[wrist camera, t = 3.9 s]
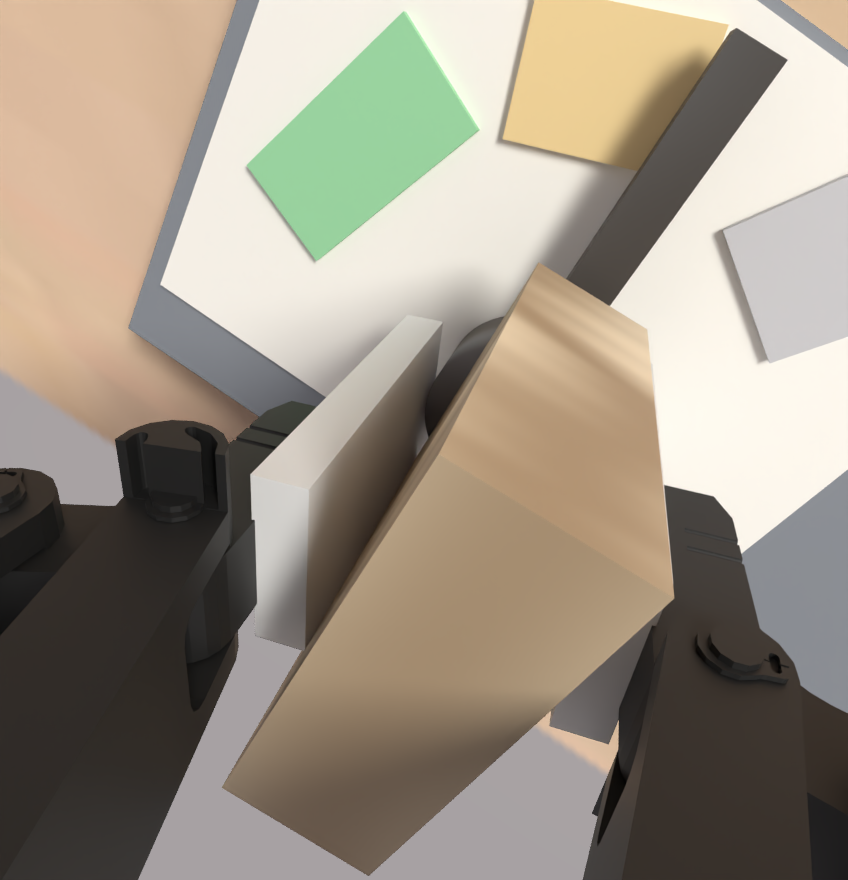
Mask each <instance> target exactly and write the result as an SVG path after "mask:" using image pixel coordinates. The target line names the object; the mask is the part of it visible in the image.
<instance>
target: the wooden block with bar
mask: <svg viewBox="0 0 848 880" xmlns="http://www.w3.org/2000/svg"><path fill="white" fill-rule="evenodd" d="M787 61H788V60H787V59H786V58H784V57H783V56H781V55H779V54H778V53H776V52H775V51H773V50H771V49H770V48H768V47H767V46H765V45H763V44H762V43H760V42H759V41H757V40H756V39H754V38H752V37H751V36H749V35H748V34H746V33H744V32H743V31H741V30H740V29H738V28H735V29H734V30H732V31H730V32H729V34H728V35H727V37H726V38H725V40H724V41H723V43H722V44H721V46H720V47H719V49H718V50H717V52H716V54H715V55H714V57H713V58H712V60H711V61H710V63H709V64H708V66H707V67H706V69H705V70H704V72H703V73H702V75H701V76H700V78H699V79H698V81H697V82H696V84H695V85H694V87H693V88H692V90H691V91H690V93H689V94H688V96H687V97H686V99H685V100H684V102H683V103H682V105H681V106H680V108H679V109H678V111H677V112H676V114H675V115H674V117H673V118H672V120H671V121H670V123H669V124H668V126H667V127H666V129H665V130H664V132H663V133H662V135H661V136H660V138H659V139H658V141H657V142H656V144H655V145H654V147H653V148H652V150H651V152H650V153H649V155H648V156H647V158H646V159H645V161H644V162H643V164H642V165H641V167H640V168H639V170H638V171H637V173H636V174H635V176H634V177H633V179H632V180H631V182H630V183H629V185H628V186H627V188H626V189H625V191H624V192H623V194H622V195H621V197H620V198H619V200H618V201H617V203H616V204H615V206H614V207H613V209H612V210H611V212H610V213H609V215H608V216H607V218H606V219H605V221H604V222H603V224H602V225H601V227H600V228H599V230H598V231H597V233H596V234H595V236H594V237H593V239H592V240H591V242H590V243H589V245H588V247H587V248H586V250H585V251H584V253H583V254H582V256H581V257H580V259H579V260H578V262H577V263H576V265H575V266H574V268H573V269H572V271H571V272H570V274H569V275H568V277H567V278H566V279H565V278H563V277H562V276H560V275H558V274H557V273H555V272H554V271H552V270H550V269H549V268H547V267H546V266H544V265H542V264H541V263H539V262H538V264H537V266H536V267H535V269H534V270H533V272H532V274H531V275H530V277H529V278H528V280H527V282H526V283H525V285H524V286H523V288H522V290H521V291H520V293H519V294H518V296H517V298H516V299H515V301H514V302H513V304H512V305H511V307H510V309H509V310H508V312H507V313H506V315H505V316H504V317H499V318H495V319H492V320H489V321H487V322H485V323H482V324H481V325H479V326H478V327H476V328H474V329H473V330H472V331H471V332H469V333H468V334H467V335H466V336H465V337H464V338H463V339H462V341H461V342H460V343H459V345H458V346H457V348H456V349H455V351H454V352H453V354H452V355H451V357H450V358H449V360H448V361H447V362H446V364H445V365H444V367H443V368H442V370H441V371H440V373H439V374H438V376H437V377H436V379H435V380H434V382H433V384H432V386H431V388H430V390H429V393H428V396H427V399H426V405H425V426H426V430H427V434H428V437H429V438H428V439H427V441H426V443H425V444H424V446H423V447H422V449H421V451H420V452H419V454H418V455H417V457H416V459H415V460H414V462H413V464H412V466H411V467H410V469H409V471H408V472H407V474H406V476H405V478H404V479H403V481H402V483H401V485H400V486H399V488H398V490H397V491H396V493H395V495H394V497H393V498H392V500H391V502H390V504H389V505H388V507H387V509H386V510H385V512H384V514H383V516H382V517H381V519H380V521H379V523H378V524H377V526H376V528H375V529H374V531H373V533H372V535H371V536H370V538H369V540H368V542H367V543H366V545H365V547H364V549H363V550H362V552H361V554H360V555H359V557H358V559H357V561H356V562H355V564H354V566H353V568H352V569H351V571H350V573H349V574H348V576H347V578H346V580H345V581H344V583H343V585H342V587H341V588H340V590H339V592H338V593H337V595H336V597H335V599H334V600H333V602H332V604H331V606H330V607H329V609H328V611H327V612H326V614H325V616H324V618H323V619H322V621H321V623H320V625H319V626H318V628H317V630H316V631H315V633H314V635H313V637H312V638H311V640H310V642H309V644H308V645H307V647H306V649H305V650H304V651H303V650H302V651H301V653H300V654H299V656H298V658H297V660H296V661H295V663H294V665H293V666H292V668H291V670H290V672H289V673H288V675H287V677H286V678H285V680H284V682H283V683H282V685H281V687H280V689H279V691H278V692H277V694H276V695H275V697H274V699H273V701H272V702H271V704H270V706H269V707H268V709H267V711H266V713H265V714H264V716H263V718H262V719H261V721H260V723H259V725H258V727H257V728H256V730H255V731H254V733H253V735H252V737H251V738H250V740H249V742H248V743H247V745H246V747H245V749H244V750H243V752H242V754H241V755H240V757H239V759H238V761H237V762H236V764H235V766H234V768H233V769H232V771H231V773H230V774H229V776H228V778H227V780H226V781H225V783H224V785H223V786H222V788H223V789H225V790H227V791H228V792H230V793H232V794H233V795H235V796H237V797H238V798H240V799H242V800H243V801H245V802H247V803H248V804H250V805H251V806H253V807H255V808H256V809H258V810H260V811H261V812H263V813H265V814H267V815H268V816H270V817H271V818H273V819H275V820H276V821H278V822H280V823H282V824H283V825H285V826H286V827H288V828H290V829H291V830H293V831H295V832H297V833H298V834H300V835H301V836H303V837H305V838H306V839H308V840H310V841H311V842H313V843H315V844H316V845H318V846H320V847H321V848H323V849H324V850H326V851H328V852H329V853H331V854H333V855H335V856H336V857H338V858H340V859H341V860H343V861H344V862H346V863H348V864H350V865H351V866H353V867H355V868H356V869H358V870H359V871H361V872H363V873H364V874H366V875H368V876H369V875H370V874H371V873H372V872H373V871H375V870H376V869H377V868H378V867H379V866H380V865H381V864H382V863H383V862H384V861H386V859H388V858H389V857H390V856H391V855H392V854H393V853H394V852H395V851H397V850H398V849H399V848H400V847H401V846H402V845H403V844H404V843H405V842H406V841H408V840H409V839H410V838H411V837H412V836H413V835H414V834H415V833H416V832H418V831H419V830H420V829H421V828H422V827H423V826H424V825H425V824H426V823H427V822H429V821H430V820H431V819H432V818H433V817H434V816H435V815H436V814H437V813H438V812H440V811H441V810H442V809H443V808H444V807H445V806H446V805H447V804H448V803H449V802H451V801H452V799H454V798H455V797H456V796H457V795H458V794H459V793H460V792H462V791H463V790H464V789H465V788H466V787H467V786H468V785H469V784H470V783H471V782H473V781H474V780H475V779H476V778H477V777H478V776H479V775H480V774H481V773H483V772H484V771H485V770H486V769H487V768H488V767H489V766H490V765H491V764H492V763H493V762H495V761H496V760H497V759H498V758H499V757H500V756H501V755H502V754H503V753H505V752H506V751H507V750H508V749H509V748H510V747H511V746H512V745H513V744H514V743H516V742H517V741H518V740H519V739H520V738H521V737H522V736H523V735H524V734H525V733H527V732H528V731H529V730H530V729H531V728H532V727H533V726H534V725H535V724H537V723H538V722H539V721H540V720H541V719H542V718H543V717H544V716H545V715H546V714H548V713H549V712H550V711H551V710H552V709H553V708H554V707H555V706H556V705H557V704H559V703H560V702H561V701H562V700H563V699H564V698H565V697H566V696H567V695H568V694H570V693H571V692H572V691H573V690H574V689H575V688H576V687H577V686H578V685H579V684H581V683H582V682H583V681H584V680H585V679H586V678H587V677H588V676H589V675H590V674H592V673H593V672H594V671H595V670H596V669H597V668H598V667H599V666H600V665H602V664H603V663H604V662H605V661H606V660H607V659H608V658H609V657H610V656H611V655H613V654H614V653H615V652H616V651H617V650H618V649H619V648H620V647H621V646H622V645H624V644H625V643H626V642H627V641H628V640H629V639H630V638H631V637H632V636H633V635H635V634H636V633H637V632H638V631H639V630H640V629H641V628H642V627H643V626H644V625H646V624H647V623H648V622H649V621H650V620H651V619H652V618H653V617H654V616H655V615H657V614H658V613H659V612H660V611H661V610H662V609H663V608H664V607H665V606H666V605H668V604H669V603H670V602H671V601H672V600H673V599H674V590H673V580H672V570H671V560H670V550H669V540H668V530H667V520H666V510H665V500H664V491H663V481H662V471H661V461H660V451H659V441H658V431H657V421H656V411H655V401H654V391H653V381H652V371H651V362H650V352H649V342H648V332H647V329H646V328H644V327H643V326H641V325H639V324H638V323H636V322H634V321H633V320H631V319H630V318H628V317H626V316H625V315H623V314H622V313H620V312H618V311H617V310H615V309H613V308H612V307H610V305H611V304H612V303H613V301H614V300H615V298H616V297H617V296H618V294H619V293H620V291H621V290H622V289H623V287H624V286H625V285H626V283H627V282H628V280H629V279H630V278H631V276H632V275H633V273H634V272H635V271H636V269H637V268H638V267H639V265H640V264H641V262H642V261H643V260H644V258H645V257H646V256H647V254H648V253H649V251H650V250H651V249H652V247H653V246H654V244H655V243H656V242H657V240H658V239H659V238H660V236H661V235H662V233H663V232H664V231H665V229H666V228H667V227H668V225H669V224H670V222H671V221H672V220H673V218H674V217H675V215H676V214H677V213H678V211H679V210H680V209H681V207H682V206H683V204H684V203H685V202H686V200H687V199H688V197H689V196H690V195H691V193H692V192H693V191H694V189H695V188H696V186H697V185H698V184H699V182H700V181H701V180H702V178H703V177H704V175H705V174H706V173H707V171H708V170H709V168H710V167H711V166H712V164H713V163H714V162H715V160H716V159H717V157H718V156H719V155H720V153H721V152H722V151H723V149H724V148H725V146H726V145H727V144H728V142H729V141H730V139H731V138H732V137H733V135H734V134H735V133H736V131H737V130H738V128H739V127H740V126H741V124H742V123H743V122H744V120H745V119H746V117H747V116H748V115H749V113H750V112H751V110H752V109H753V108H754V106H755V105H756V104H757V102H758V101H759V99H760V98H761V97H762V95H763V94H764V92H765V91H766V90H767V88H768V87H769V86H770V84H771V83H772V81H773V80H774V79H775V77H776V76H777V75H778V73H779V72H780V70H781V69H782V68H783V66H784V65H785V63H786V62H787Z"/></svg>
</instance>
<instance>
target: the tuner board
mask: <svg viewBox="0 0 848 880" xmlns="http://www.w3.org/2000/svg"><path fill="white" fill-rule="evenodd" d="M735 28H738V29H740V30H741V31H743V32H744V33H746V34H748V35H749V36H751V37H752V38H754V39H756V40H757V41H759V42H760V43H762V44H763V45H765V46H767V47H768V48H770V49H771V50H773V51H775V52H776V53H778V54H779V55H781V56H783V57H784V58H786V59H787V60H788V61H787V62H786V63H785V65H784V66H783V68H782V69H781V70H780V72H779V73H778V75H777V76H776V77H775V79H774V80H773V81H772V83H771V84H770V86H769V87H768V88H767V90H766V91H765V92H764V94H763V95H762V97H761V98H760V99H759V101H758V102H757V104H756V105H755V106H754V108H753V109H752V110H751V112H750V113H749V115H748V116H747V117H746V119H745V120H744V122H743V123H742V124H741V126H740V127H739V128H738V130H737V131H736V133H735V134H734V135H733V137H732V138H731V139H730V141H729V142H728V144H727V145H726V146H725V148H724V149H723V151H722V152H721V153H720V155H719V156H718V157H717V159H716V160H715V162H714V163H713V164H712V166H711V167H710V168H709V170H708V171H707V173H706V174H705V175H704V177H703V178H702V180H701V181H700V182H699V184H698V185H697V186H696V188H695V189H694V191H693V192H692V193H691V195H690V196H689V197H688V199H687V200H686V202H685V203H684V204H683V206H682V207H681V209H680V210H679V211H678V213H677V214H676V215H675V217H674V218H673V220H672V221H671V222H670V224H669V225H668V227H667V228H666V229H665V231H664V232H663V233H662V235H661V236H660V238H659V239H658V240H657V242H656V243H655V244H654V246H653V247H652V249H651V250H650V251H649V253H648V254H647V256H646V257H645V258H644V260H643V261H642V262H641V264H640V265H639V267H638V268H637V269H636V271H635V272H634V273H633V275H632V276H631V278H630V279H629V280H628V282H627V283H626V285H625V286H624V287H623V289H622V290H621V291H620V293H619V294H618V296H617V297H616V298H615V300H614V301H613V303H612V304H611V305H610V307H612V308H613V309H615V310H617V311H618V312H620V313H622V314H623V315H625V316H626V317H628V318H630V319H631V320H633V321H634V322H636V323H638V324H639V325H641V326H643V327H644V328H646V329H647V332H648V342H649V352H650V362H651V363H652V365H653V375H654V386H655V396H656V407H657V417H658V428H659V438H660V449H661V459H662V469H663V480H664V485H667V486H671V487H675V488H680V489H684V490H688V491H693V492H697V493H701V494H706V495H710V496H714V497H715V498H716V500H717V501H718V502H719V503H720V504H721V505H722V507H723V508H724V509H725V510H726V511H727V513H728V514H729V515H730V516H731V517H732V519H733V522H734V526H735V530H736V534H737V538H738V543H737V545H739V546H740V550H741V554H742V558H743V560H742V564H744V566H745V570H746V574H747V578H748V582H749V586H750V590H751V594H752V598H753V602H754V606H755V610H756V614H757V618H758V622H759V626H760V629H761V630H762V631H763V632H765V633H766V634H767V635H768V636H770V637H771V638H772V639H773V640H775V641H776V642H777V643H779V644H780V646H781V647H782V648H783V649H784V651H785V652H786V653H787V655H788V656H789V657H790V658H791V660H792V661H793V662H794V664H795V667H796V670H797V673H798V677H799V680H800V685H801V686H802V687H804V688H805V689H806V690H807V691H809V692H810V693H812V694H813V695H815V696H817V697H818V698H820V699H822V700H824V701H825V702H827V703H829V704H830V705H832V706H834V707H836V708H838V709H840V710H842V711H844V712H846V713H848V50H847V49H846V48H845V47H843V46H842V45H841V44H839V43H838V42H836V41H835V40H834V39H832V38H831V37H830V36H828V35H827V34H826V33H824V32H823V31H822V30H820V29H819V28H818V27H816V26H815V25H813V24H812V23H811V22H809V21H808V20H807V19H805V18H804V17H803V16H801V15H800V14H799V13H797V12H796V11H795V10H793V9H792V8H791V7H789V6H788V5H786V4H785V3H784V2H782V1H781V0H237V2H236V5H235V8H234V11H233V14H232V17H231V20H230V23H229V26H228V29H227V32H226V35H225V38H224V41H223V44H222V47H221V50H220V53H219V56H218V59H217V62H216V65H215V68H214V71H213V74H212V77H211V80H210V83H209V86H208V89H207V92H206V95H205V98H204V101H203V104H202V107H201V111H200V114H199V117H198V120H197V123H196V126H195V129H194V132H193V135H192V138H191V141H190V144H189V147H188V150H187V153H186V156H185V159H184V162H183V165H182V168H181V171H180V174H179V177H178V180H177V183H176V186H175V189H174V192H173V195H172V198H171V201H170V204H169V207H168V210H167V213H166V216H165V219H164V222H163V225H162V228H161V231H160V234H159V237H158V240H157V243H156V246H155V249H154V252H153V255H152V258H151V261H150V264H149V267H148V270H147V273H146V276H145V279H144V282H143V285H142V288H141V291H140V294H139V297H138V300H137V303H136V306H135V309H134V313H133V316H132V319H131V322H130V325H129V329H130V330H132V331H133V332H134V333H136V334H137V335H139V336H140V337H142V338H143V339H145V340H146V341H148V342H149V343H151V344H152V345H154V346H155V347H157V348H158V349H160V350H161V351H163V352H164V353H166V354H167V355H168V356H170V357H171V358H173V359H174V360H176V361H177V362H179V363H180V364H182V365H183V366H185V367H186V368H188V369H189V370H191V371H192V372H194V373H195V374H197V375H198V376H200V377H201V378H203V379H204V380H205V381H207V382H208V383H210V384H211V385H213V386H214V387H216V388H217V389H219V390H220V391H222V392H223V393H225V394H226V395H228V396H229V397H231V398H232V399H234V400H235V401H237V402H238V403H240V404H241V405H242V406H244V407H245V408H247V409H248V410H250V411H251V412H253V413H254V414H256V415H257V416H259V417H260V416H261V415H262V414H263V413H265V412H266V411H267V410H270V409H272V408H275V407H277V406H280V405H282V404H285V403H287V402H290V401H295V402H299V403H303V404H308V405H312V406H316V407H317V406H318V405H319V404H320V403H321V402H322V401H323V400H324V399H325V398H326V397H327V396H328V395H329V394H330V393H331V392H332V391H333V390H334V389H335V388H336V387H337V386H338V385H339V384H340V383H341V382H342V381H343V380H344V379H345V378H346V377H347V376H348V375H349V374H350V373H351V372H352V371H353V370H354V369H355V368H356V367H357V366H358V365H359V364H360V363H361V362H362V361H363V360H364V359H365V358H366V357H367V356H368V355H369V354H370V353H371V352H372V351H373V350H374V349H375V347H376V346H377V345H378V344H379V343H380V342H381V341H382V340H383V339H384V338H385V337H386V336H387V335H388V334H389V333H390V332H391V331H392V330H393V329H394V328H395V327H396V326H397V325H398V324H399V323H400V322H401V321H402V320H403V319H404V318H405V317H406V316H407V315H412V316H417V317H422V318H427V319H432V320H437V321H442V322H443V327H442V335H441V342H440V350H439V358H438V365H437V373H436V377H437V376H438V374H439V373H440V371H441V370H442V368H443V367H444V365H445V364H446V362H447V361H448V360H449V358H450V357H451V355H452V354H453V352H454V351H455V349H456V348H457V346H458V345H459V343H460V342H461V341H462V339H463V338H464V337H465V336H466V335H467V334H468V333H469V332H471V331H472V330H473V329H474V328H476V327H478V326H479V325H481V324H482V323H485V322H487V321H489V320H492V319H495V318H499V317H504V316H505V315H506V313H507V312H508V310H509V309H510V307H511V305H512V304H513V302H514V301H515V299H516V298H517V296H518V294H519V293H520V291H521V290H522V288H523V286H524V285H525V283H526V282H527V280H528V278H529V277H530V275H531V274H532V272H533V270H534V269H535V267H536V266H537V264H538V262H539V263H541V264H542V265H544V266H546V267H547V268H549V269H550V270H552V271H554V272H555V273H557V274H558V275H560V276H562V277H563V278H565V279H566V278H567V277H568V275H569V274H570V272H571V271H572V269H573V268H574V266H575V265H576V263H577V262H578V260H579V259H580V257H581V256H582V254H583V253H584V251H585V250H586V248H587V247H588V245H589V243H590V242H591V240H592V239H593V237H594V236H595V234H596V233H597V231H598V230H599V228H600V227H601V225H602V224H603V222H604V221H605V219H606V218H607V216H608V215H609V213H610V212H611V210H612V209H613V207H614V206H615V204H616V203H617V201H618V200H619V198H620V197H621V195H622V194H623V192H624V191H625V189H626V188H627V186H628V185H629V183H630V182H631V180H632V179H633V177H634V176H635V174H636V173H637V171H638V170H639V168H640V167H641V165H642V164H643V162H644V161H645V159H646V158H647V156H648V155H649V153H650V152H651V150H652V148H653V147H654V145H655V144H656V142H657V141H658V139H659V138H660V136H661V135H662V133H663V132H664V130H665V129H666V127H667V126H668V124H669V123H670V121H671V120H672V118H673V117H674V115H675V114H676V112H677V111H678V109H679V108H680V106H681V105H682V103H683V102H684V100H685V99H686V97H687V96H688V94H689V93H690V91H691V90H692V88H693V87H694V85H695V84H696V82H697V81H698V79H699V78H700V76H701V75H702V73H703V72H704V70H705V69H706V67H707V66H708V64H709V63H710V61H711V60H712V58H713V57H714V55H715V54H716V52H717V50H718V49H719V47H720V46H721V44H722V43H723V41H724V40H725V38H726V37H727V35H728V34H729V32H730V31H732V30H734V29H735ZM428 438H429V437H428ZM428 438H427V439H428ZM426 441H427V440H426ZM425 443H426V442H425ZM425 443H424V444H425ZM423 446H424V445H423ZM420 451H421V450H420Z"/></svg>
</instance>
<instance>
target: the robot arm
mask: <svg viewBox="0 0 848 880" xmlns="http://www.w3.org/2000/svg"><path fill="white" fill-rule="evenodd" d="M442 327H443V322H442V321H437V320H432V319H427V318H422V317H417V316H412V315H407V316H406V317H405V318H404V319H403V320H402V321H401V322H400V323H399V324H398V325H397V326H396V327H395V328H394V329H393V330H392V331H391V332H390V333H389V334H388V335H387V336H386V337H385V338H384V339H383V340H382V341H381V342H380V343H379V344H378V345H377V346H376V347H375V349H374V350H373V351H372V352H371V353H370V354H369V355H368V356H367V357H366V358H365V359H364V360H363V361H362V362H361V363H360V364H359V365H358V366H357V367H356V368H355V369H354V370H353V371H352V372H351V373H350V374H349V375H348V376H347V377H346V378H345V379H344V380H343V381H342V382H341V383H340V384H339V385H338V386H337V387H336V388H335V389H334V390H333V391H332V392H331V393H330V394H329V395H328V396H327V397H326V398H325V399H324V400H323V401H322V402H321V403H320V404H319V405H318V406H317V407H316V406H312V405H308V404H303V403H299V402H295V401H290V402H287V403H285V404H282V405H280V406H277V407H275V408H272V409H270V410H267V411H266V412H265V413H263V414H262V415H261V416H260V417H259V418H258V419H257V420H256V421H254V422H253V423H252V424H251V425H250V428H246V429H245V430H244V431H243V432H242V433H241V434H240V435H239V436H237V439H236V440H233V441H232V442H231V443H229V444H228V442H227V440H226V438H225V436H224V434H223V433H221V432H220V431H218V430H217V429H215V428H213V427H212V426H209V425H205V424H202V423H198V422H194V421H177V420H170V421H162V422H155V423H149V424H146V425H143V426H140V427H137V428H134V429H131V430H129V431H127V432H126V433H124V434H123V435H121V436H119V437H118V438H116V439H115V442H116V448H117V455H118V462H119V468H120V475H121V481H122V488H123V494H124V497H123V498H122V499H121V500H120V501H119V503H118V504H117V505H116V506H95V505H69V504H60V500H59V495H58V491H57V487H56V486H55V483H54V480H53V479H52V478H51V477H49V476H47V475H45V474H43V473H42V472H40V471H35V470H29V469H23V468H9V469H6V468H2V469H0V880H138V878H139V876H140V874H141V871H142V869H143V867H144V865H145V862H146V860H147V858H148V856H149V854H150V851H151V849H152V847H153V845H154V842H155V840H156V838H157V836H158V833H159V831H160V829H161V827H162V824H163V822H164V820H165V818H166V816H167V813H168V811H169V809H170V807H171V804H172V802H173V800H174V798H175V795H176V793H177V791H178V788H179V786H180V784H181V782H182V780H183V777H184V775H185V773H186V771H187V768H188V766H189V764H190V762H191V759H192V757H193V755H194V753H195V750H196V748H197V746H198V744H199V742H200V739H201V737H202V735H203V732H204V730H205V728H206V726H207V723H208V721H209V719H210V717H211V715H212V712H213V710H214V708H215V706H216V703H217V701H218V699H219V697H220V694H221V692H222V690H223V688H224V685H225V683H226V681H227V679H228V677H229V674H230V672H231V670H232V667H233V665H234V663H235V661H236V657H237V651H238V629H239V628H240V627H241V625H242V624H243V622H244V621H245V620H246V618H247V617H248V616H249V614H250V613H251V611H252V610H253V608H254V612H255V636H257V637H260V638H263V639H267V640H270V641H273V642H276V643H280V644H283V645H286V646H290V647H293V648H296V649H299V650H303V651H304V650H305V649H306V647H307V645H308V644H309V642H310V640H311V638H312V637H313V635H314V633H315V631H316V630H317V628H318V626H319V625H320V623H321V621H322V619H323V618H324V616H325V614H326V612H327V611H328V609H329V607H330V606H331V604H332V602H333V600H334V599H335V597H336V595H337V593H338V592H339V590H340V588H341V587H342V585H343V583H344V581H345V580H346V578H347V576H348V574H349V573H350V571H351V569H352V568H353V566H354V564H355V562H356V561H357V559H358V557H359V555H360V554H361V552H362V550H363V549H364V547H365V545H366V543H367V542H368V540H369V538H370V536H371V535H372V533H373V531H374V529H375V528H376V526H377V524H378V523H379V521H380V519H381V517H382V516H383V514H384V512H385V510H386V509H387V507H388V505H389V504H390V502H391V500H392V498H393V497H394V495H395V493H396V491H397V490H398V488H399V486H400V485H401V483H402V481H403V479H404V478H405V476H406V474H407V472H408V471H409V469H410V467H411V466H412V464H413V462H414V460H415V459H416V457H417V455H418V454H419V452H420V450H421V449H422V447H423V445H424V443H425V442H426V440H427V438H428V434H427V430H426V426H425V405H426V399H427V396H428V393H429V390H430V388H431V386H432V384H433V382H434V380H435V379H436V373H437V365H438V358H439V350H440V342H441V335H442ZM651 371H652V381H653V391H654V401H655V411H656V421H657V431H658V441H659V451H660V461H661V471H662V481H663V491H664V500H665V510H666V520H667V530H668V540H669V550H670V560H671V570H672V580H673V590H674V599H673V600H672V601H671V602H670V603H669V604H668V605H666V606H665V607H664V608H663V609H662V610H661V611H660V612H659V613H658V614H657V615H655V616H654V617H653V618H652V619H651V620H650V621H649V622H648V623H647V624H646V625H644V626H643V627H642V628H641V629H640V630H639V631H638V632H637V633H636V634H635V635H633V636H632V637H631V638H630V639H629V640H628V641H627V642H626V643H625V644H624V645H622V646H621V647H620V648H619V649H618V650H617V651H616V652H615V653H614V654H613V655H611V656H610V657H609V658H608V659H607V660H606V661H605V662H604V663H603V664H602V665H600V666H599V667H598V668H597V669H596V670H595V671H594V672H593V673H592V674H590V675H589V676H588V677H587V678H586V679H585V680H584V681H583V682H582V683H581V684H579V685H578V686H577V687H576V688H575V689H574V690H573V691H572V692H571V693H570V694H568V695H567V696H566V697H565V698H564V699H563V700H562V701H561V702H560V703H559V704H557V705H556V706H555V707H554V708H553V709H552V710H551V718H550V726H551V727H554V728H557V729H561V730H564V731H567V732H570V733H574V734H577V735H580V736H583V737H587V738H590V739H593V740H596V741H600V742H603V743H606V744H609V742H610V740H611V737H612V735H613V732H614V730H615V727H616V725H617V722H618V720H619V749H618V752H617V755H616V757H615V759H614V762H613V764H612V767H611V769H610V771H609V774H608V776H607V779H606V781H605V783H604V786H603V788H602V791H601V793H600V795H599V798H598V800H597V802H596V805H595V807H594V810H593V812H592V814H594V815H596V816H598V818H597V822H596V826H595V830H594V835H593V839H592V843H591V847H590V851H589V856H588V860H587V864H586V868H585V872H584V877H583V880H848V713H846V712H844V711H842V710H840V709H838V708H836V707H834V706H832V705H830V704H829V703H827V702H825V701H824V700H822V699H820V698H818V697H817V696H815V695H813V694H812V693H810V692H809V691H807V690H806V689H805V688H804V687H802V686H801V685H800V680H799V677H798V673H797V670H796V667H795V664H794V662H793V661H792V660H791V658H790V657H789V656H788V655H787V653H786V652H785V651H784V649H783V648H782V647H781V646H780V644H779V643H777V642H776V641H775V640H773V639H772V638H771V637H770V636H768V635H767V634H766V633H765V632H763V631H762V630H761V629H760V626H759V622H758V618H757V614H756V610H755V606H754V602H753V598H752V594H751V590H750V586H749V582H748V578H747V574H746V570H745V566H744V564H742V560H743V558H742V554H741V550H740V546H739V545H737V543H738V538H737V534H736V530H735V526H734V522H733V519H732V517H731V516H730V515H729V514H728V513H727V511H726V510H725V509H724V508H723V507H722V505H721V504H720V503H719V502H718V501H717V500H716V498H715V497H714V496H710V495H706V494H701V493H697V492H693V491H688V490H684V489H680V488H675V487H671V486H667V485H664V480H663V469H662V459H661V449H660V438H659V428H658V417H657V407H656V396H655V386H654V375H653V365H652V363H651Z"/></svg>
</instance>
